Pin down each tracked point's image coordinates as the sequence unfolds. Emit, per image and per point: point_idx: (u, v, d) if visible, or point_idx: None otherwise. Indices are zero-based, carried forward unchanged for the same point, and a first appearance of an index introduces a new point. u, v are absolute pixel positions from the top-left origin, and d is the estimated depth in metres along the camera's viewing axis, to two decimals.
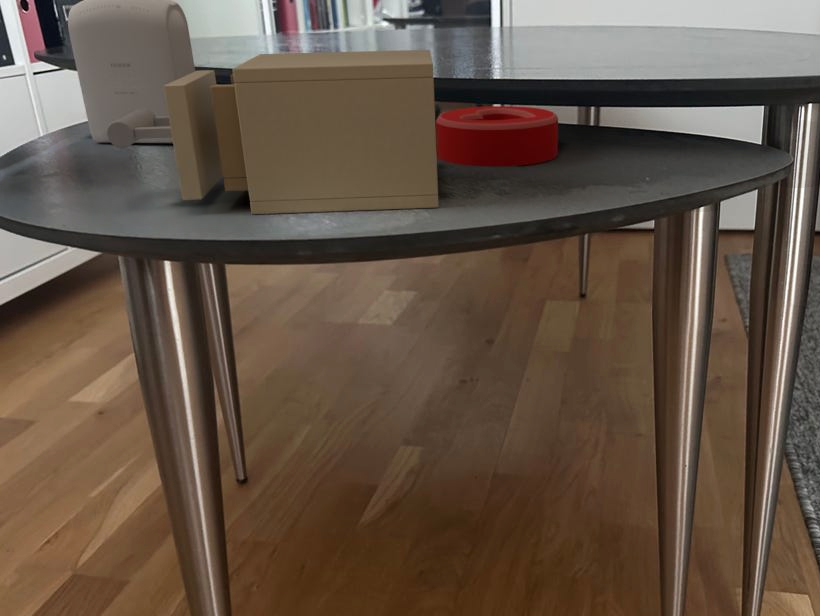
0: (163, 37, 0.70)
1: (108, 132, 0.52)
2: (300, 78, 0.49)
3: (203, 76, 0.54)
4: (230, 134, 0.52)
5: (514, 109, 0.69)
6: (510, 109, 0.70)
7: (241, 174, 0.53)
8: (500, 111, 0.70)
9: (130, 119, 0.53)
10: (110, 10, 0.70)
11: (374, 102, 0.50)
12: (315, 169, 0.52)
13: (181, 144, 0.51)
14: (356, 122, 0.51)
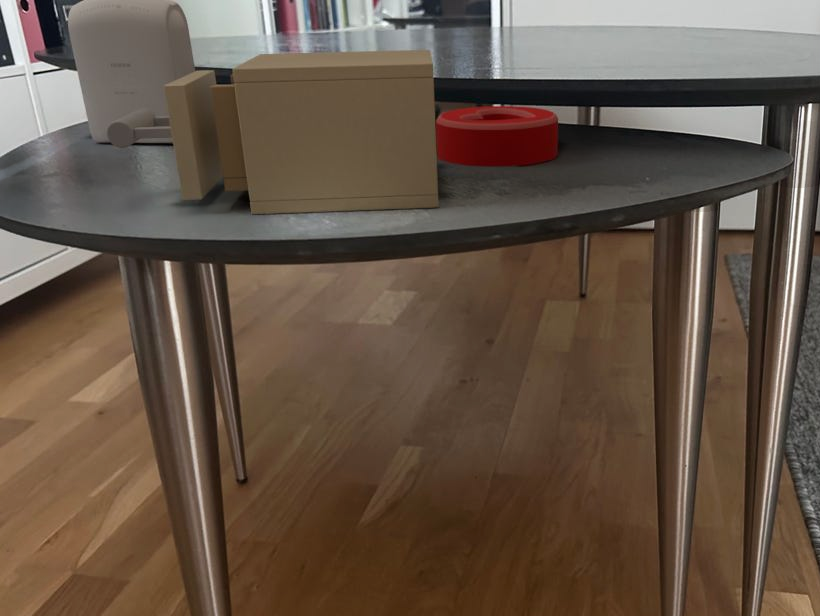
0: (163, 37, 0.70)
1: (108, 132, 0.52)
2: (300, 78, 0.49)
3: (203, 76, 0.54)
4: (230, 134, 0.52)
5: (514, 109, 0.69)
6: (510, 109, 0.70)
7: (241, 174, 0.53)
8: (500, 111, 0.70)
9: (130, 119, 0.53)
10: (110, 10, 0.70)
11: (374, 102, 0.50)
12: (315, 169, 0.52)
13: (181, 144, 0.51)
14: (356, 122, 0.51)
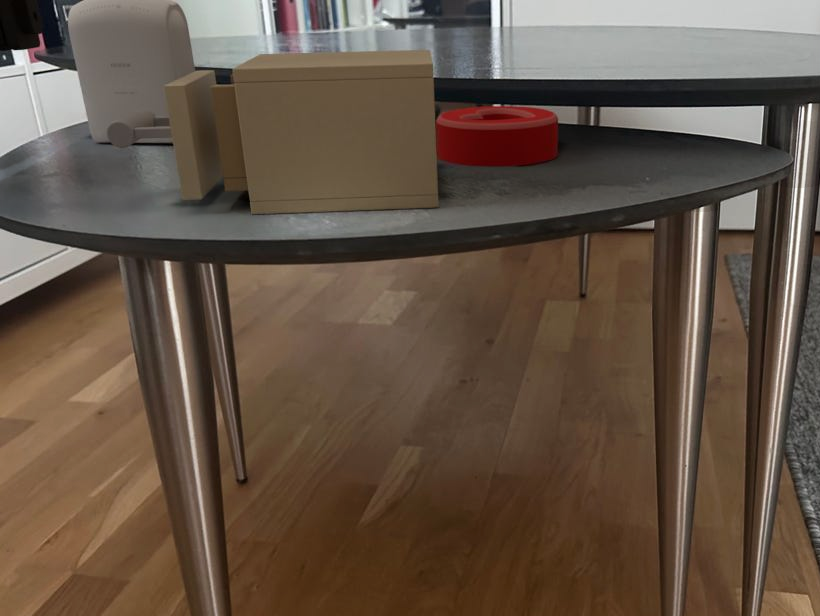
0: (163, 37, 0.70)
1: (108, 132, 0.52)
2: (300, 78, 0.49)
3: (203, 76, 0.54)
4: (230, 134, 0.52)
5: (514, 109, 0.69)
6: (510, 109, 0.70)
7: (241, 174, 0.53)
8: (500, 111, 0.70)
9: (130, 119, 0.53)
10: (110, 10, 0.70)
11: (374, 102, 0.50)
12: (315, 169, 0.52)
13: (181, 144, 0.51)
14: (356, 122, 0.51)
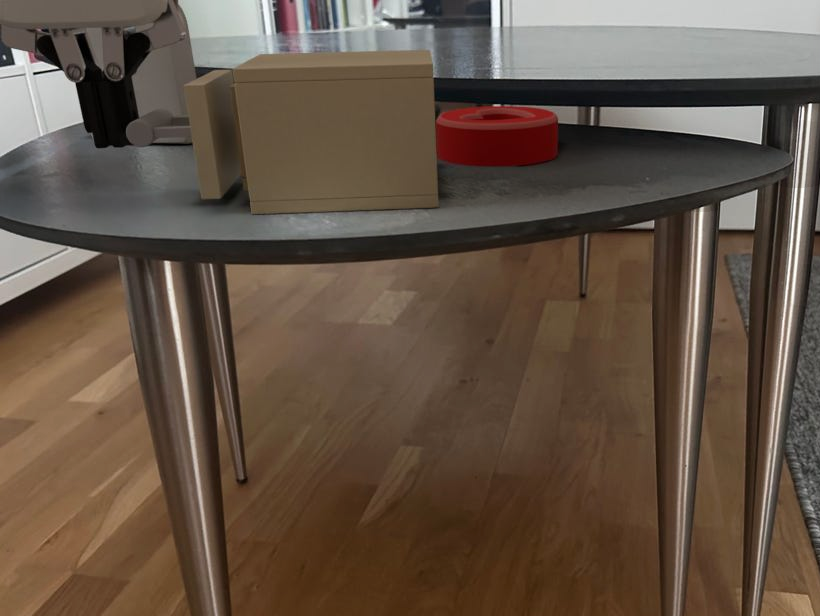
0: None
1: (127, 131, 0.52)
2: (300, 78, 0.49)
3: (221, 75, 0.54)
4: None
5: (514, 109, 0.69)
6: (510, 109, 0.70)
7: None
8: (500, 111, 0.70)
9: (149, 118, 0.53)
10: None
11: (374, 102, 0.50)
12: (315, 169, 0.52)
13: (201, 143, 0.51)
14: (356, 122, 0.51)
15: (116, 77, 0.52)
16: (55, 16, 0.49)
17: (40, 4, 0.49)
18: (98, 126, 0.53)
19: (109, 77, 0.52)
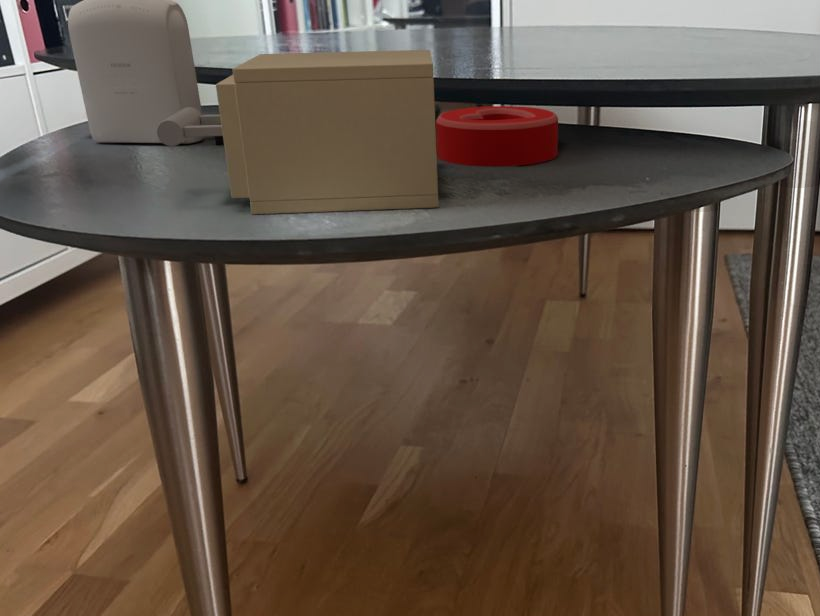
0: (163, 37, 0.70)
1: (158, 131, 0.52)
2: (300, 78, 0.49)
3: None
4: None
5: (514, 109, 0.69)
6: (510, 109, 0.70)
7: None
8: (500, 111, 0.70)
9: (179, 118, 0.53)
10: (110, 10, 0.70)
11: (374, 102, 0.50)
12: (315, 169, 0.52)
13: (231, 142, 0.51)
14: (356, 122, 0.51)
15: None
16: None
17: None
18: None
19: None
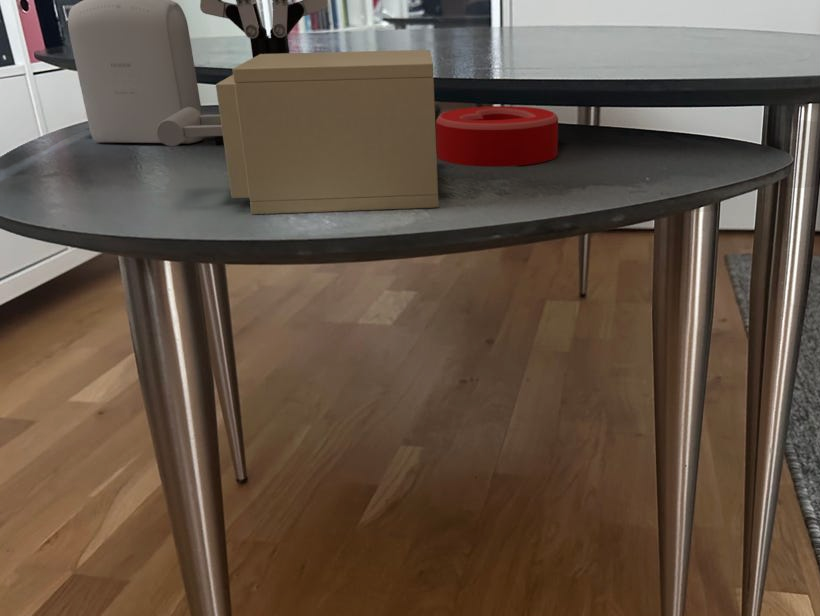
0: (163, 37, 0.70)
1: (158, 131, 0.52)
2: (300, 78, 0.49)
3: None
4: None
5: (514, 109, 0.69)
6: (510, 109, 0.70)
7: None
8: (500, 111, 0.70)
9: (179, 118, 0.53)
10: (110, 10, 0.70)
11: (374, 102, 0.50)
12: (315, 169, 0.52)
13: (231, 142, 0.51)
14: (356, 122, 0.51)
15: (280, 35, 0.73)
16: None
17: None
18: None
19: (276, 34, 0.72)
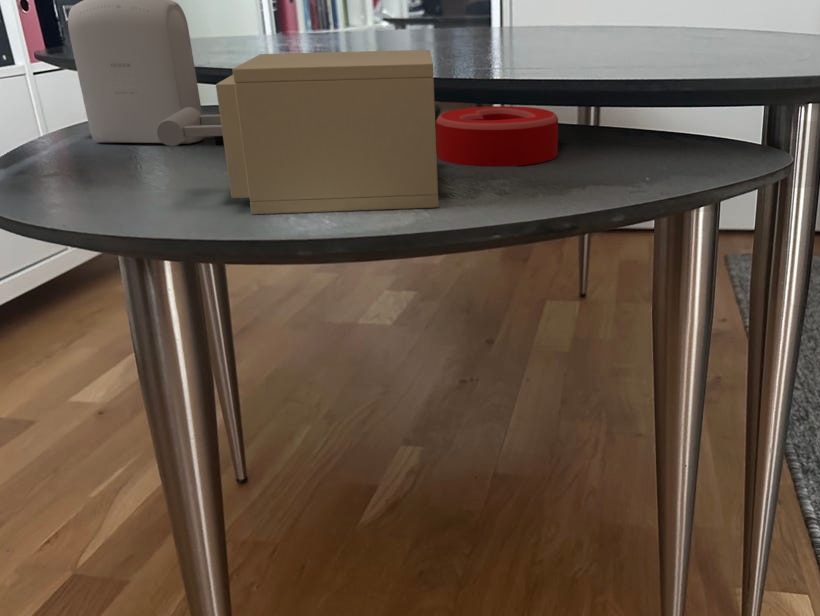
0: (163, 37, 0.70)
1: (158, 131, 0.52)
2: (300, 78, 0.49)
3: None
4: None
5: (514, 109, 0.69)
6: (510, 109, 0.70)
7: None
8: (500, 111, 0.70)
9: (179, 118, 0.53)
10: (110, 10, 0.70)
11: (374, 102, 0.50)
12: (315, 169, 0.52)
13: (231, 142, 0.51)
14: (356, 122, 0.51)
15: None
16: None
17: None
18: None
19: None
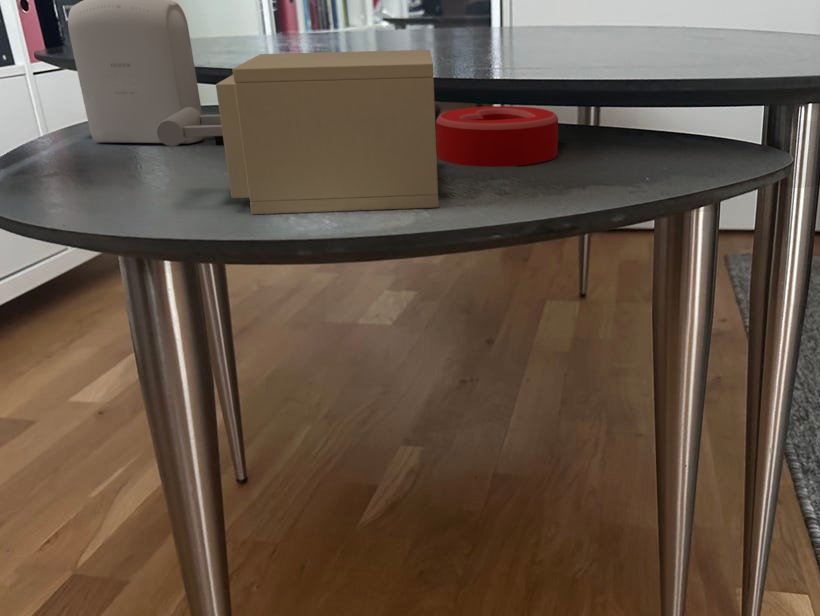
0: (163, 37, 0.70)
1: (158, 131, 0.52)
2: (300, 78, 0.49)
3: None
4: None
5: (514, 109, 0.69)
6: (510, 109, 0.70)
7: None
8: (500, 111, 0.70)
9: (179, 118, 0.53)
10: (110, 10, 0.70)
11: (374, 102, 0.50)
12: (315, 169, 0.52)
13: (231, 142, 0.51)
14: (356, 122, 0.51)
15: None
16: None
17: None
18: None
19: None
